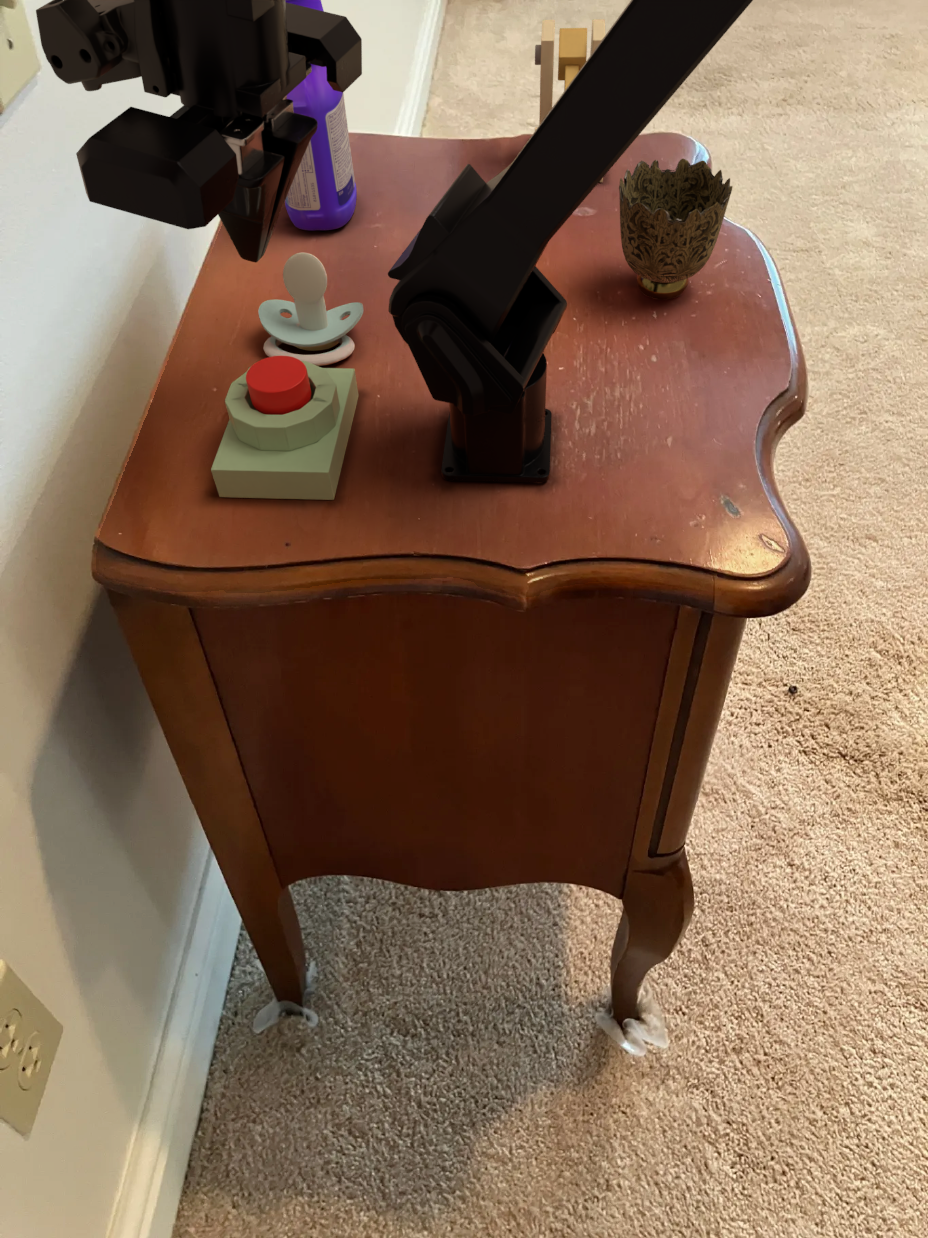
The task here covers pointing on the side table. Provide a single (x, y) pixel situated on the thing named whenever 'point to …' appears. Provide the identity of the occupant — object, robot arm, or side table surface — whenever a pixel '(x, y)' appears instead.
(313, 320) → the pacifier
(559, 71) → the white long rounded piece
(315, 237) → the side table surface
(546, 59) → the egg display stand
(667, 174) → the cup
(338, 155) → the bottle
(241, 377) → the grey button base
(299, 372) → the alarm button
